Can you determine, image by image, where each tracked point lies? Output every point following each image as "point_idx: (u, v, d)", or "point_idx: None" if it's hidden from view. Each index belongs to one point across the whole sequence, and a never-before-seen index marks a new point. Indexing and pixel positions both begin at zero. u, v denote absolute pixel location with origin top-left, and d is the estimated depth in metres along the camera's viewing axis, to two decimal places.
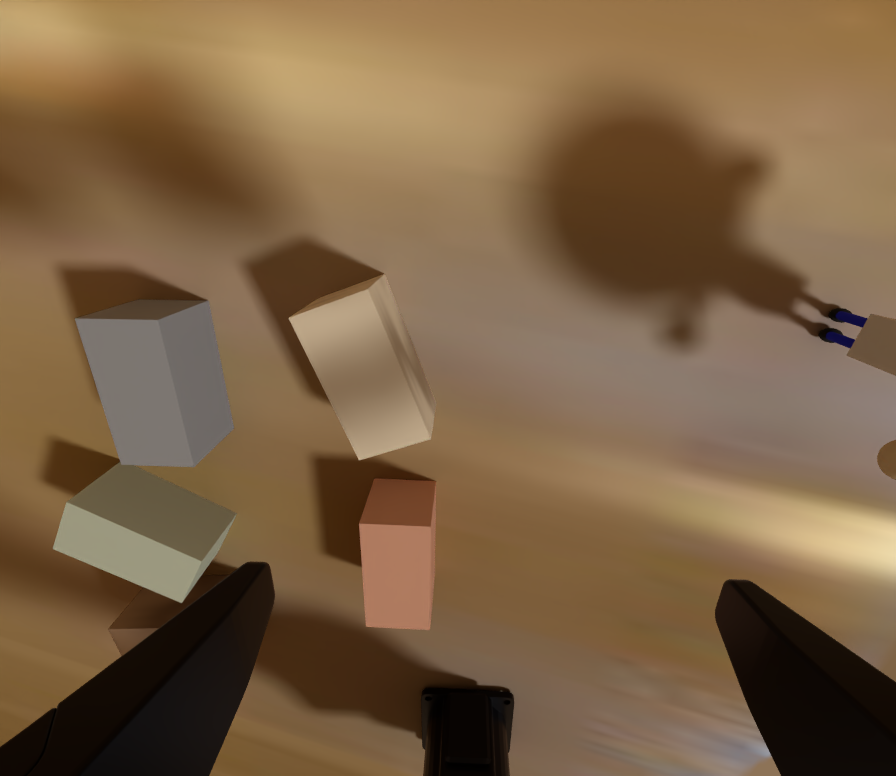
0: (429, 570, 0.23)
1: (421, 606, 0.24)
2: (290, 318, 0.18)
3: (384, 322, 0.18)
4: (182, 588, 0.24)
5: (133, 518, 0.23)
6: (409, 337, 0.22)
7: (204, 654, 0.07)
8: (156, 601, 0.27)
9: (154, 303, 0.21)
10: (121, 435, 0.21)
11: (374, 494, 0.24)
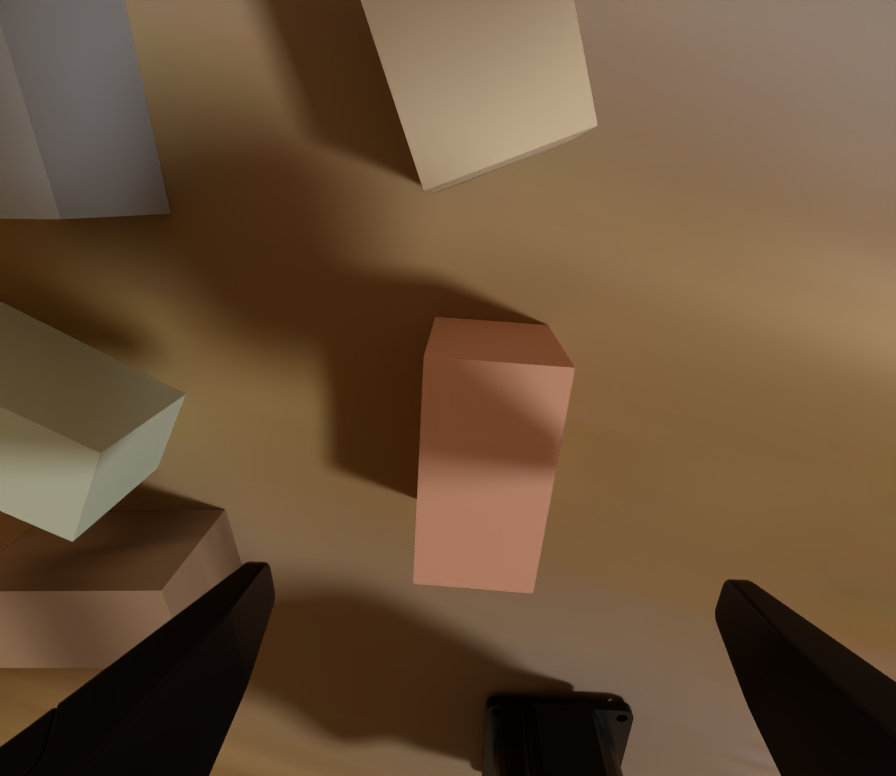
0: (554, 470, 0.11)
1: (524, 547, 0.12)
2: None
3: None
4: (70, 511, 0.13)
5: None
6: None
7: (203, 655, 0.07)
8: (47, 548, 0.16)
9: None
10: None
11: (442, 329, 0.13)
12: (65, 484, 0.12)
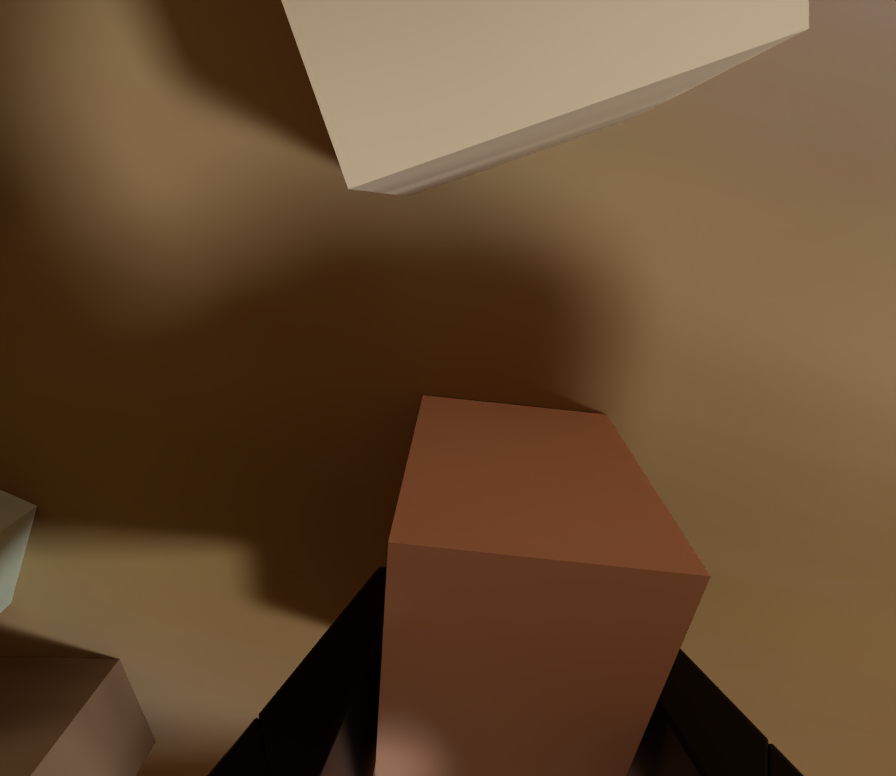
0: (638, 734, 0.06)
1: None
2: None
3: None
4: None
5: None
6: None
7: (374, 662, 0.07)
8: None
9: None
10: None
11: (432, 438, 0.07)
12: None
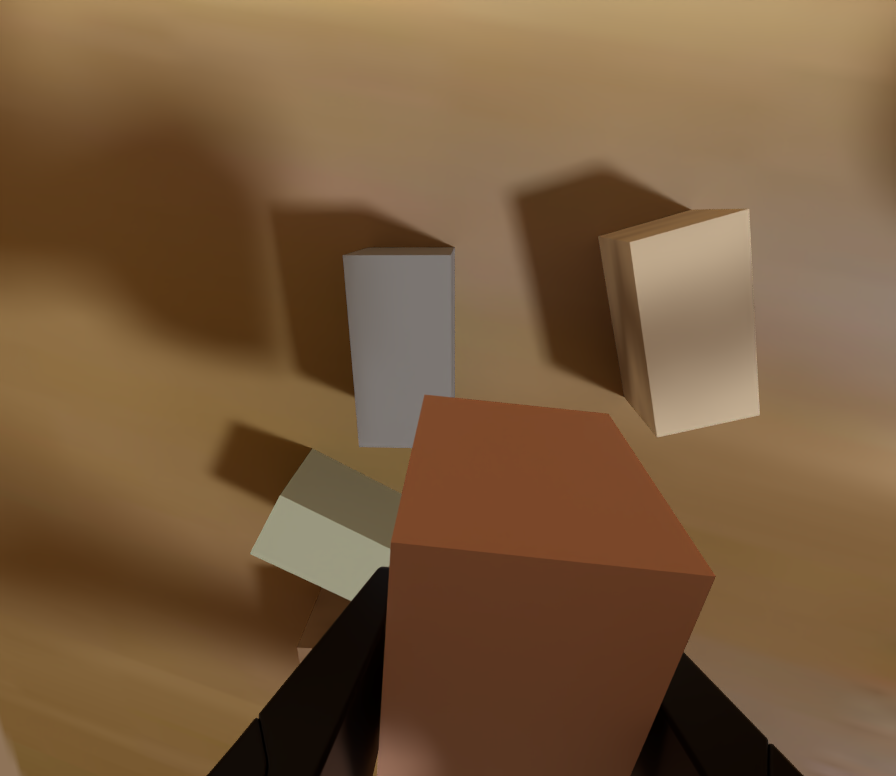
0: (642, 735, 0.06)
1: None
2: (631, 243, 0.14)
3: None
4: None
5: (348, 516, 0.19)
6: None
7: (374, 662, 0.07)
8: None
9: (398, 248, 0.17)
10: (368, 409, 0.16)
11: (434, 437, 0.07)
12: None
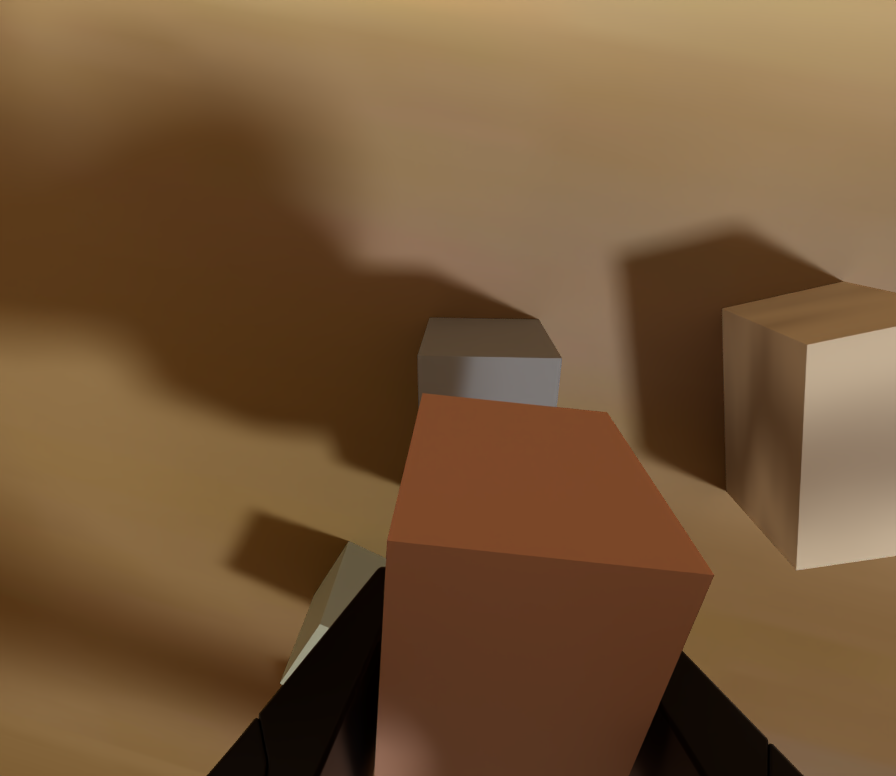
0: (640, 735, 0.06)
1: None
2: (809, 346, 0.11)
3: None
4: None
5: None
6: None
7: (373, 662, 0.07)
8: None
9: (471, 324, 0.14)
10: None
11: (431, 436, 0.07)
12: None
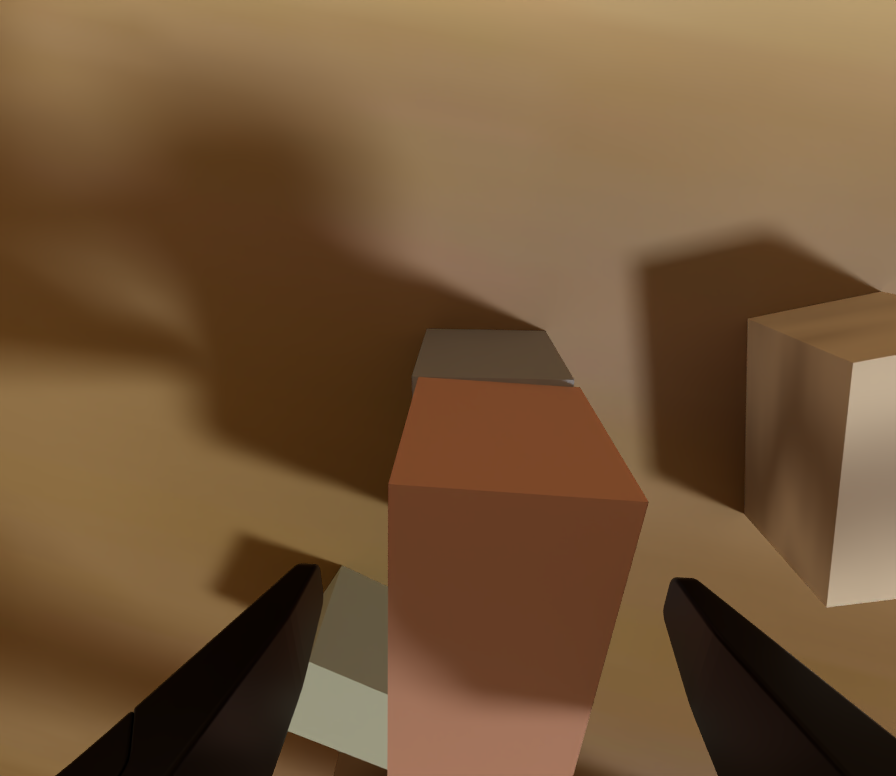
0: (605, 646, 0.07)
1: (555, 743, 0.08)
2: (855, 364, 0.09)
3: None
4: None
5: None
6: None
7: (269, 657, 0.07)
8: None
9: (472, 338, 0.13)
10: None
11: (425, 409, 0.08)
12: None
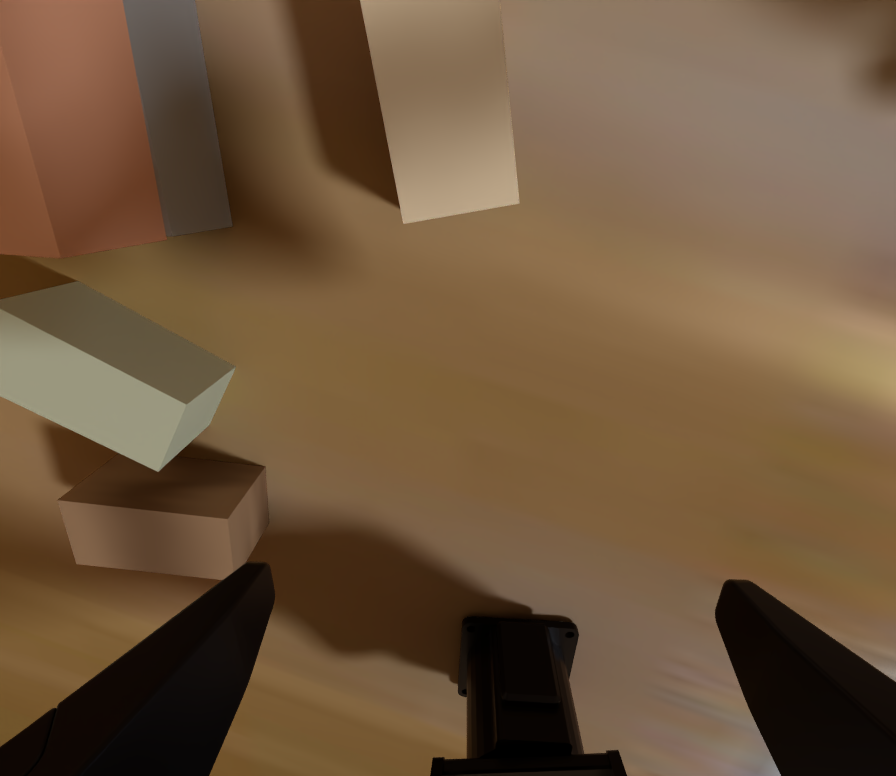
0: None
1: (17, 176, 0.10)
2: None
3: None
4: (159, 448, 0.17)
5: (88, 340, 0.16)
6: None
7: (204, 655, 0.07)
8: (128, 478, 0.20)
9: None
10: None
11: None
12: (158, 427, 0.17)
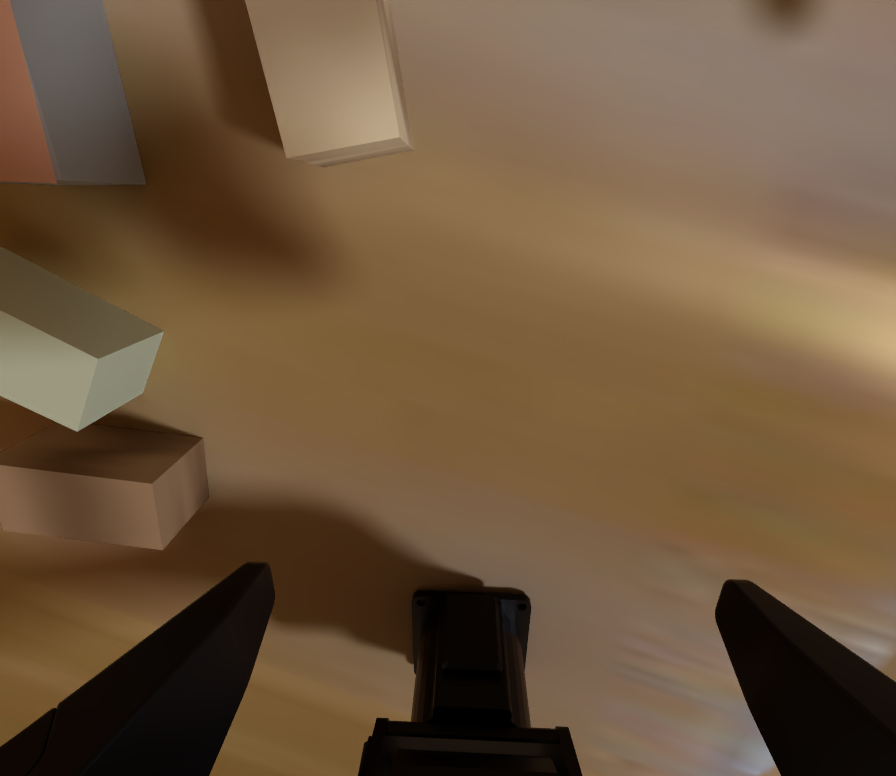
0: None
1: None
2: None
3: None
4: (75, 406, 0.17)
5: (0, 297, 0.16)
6: (392, 25, 0.15)
7: (203, 655, 0.07)
8: (59, 445, 0.20)
9: None
10: None
11: None
12: (72, 384, 0.17)
